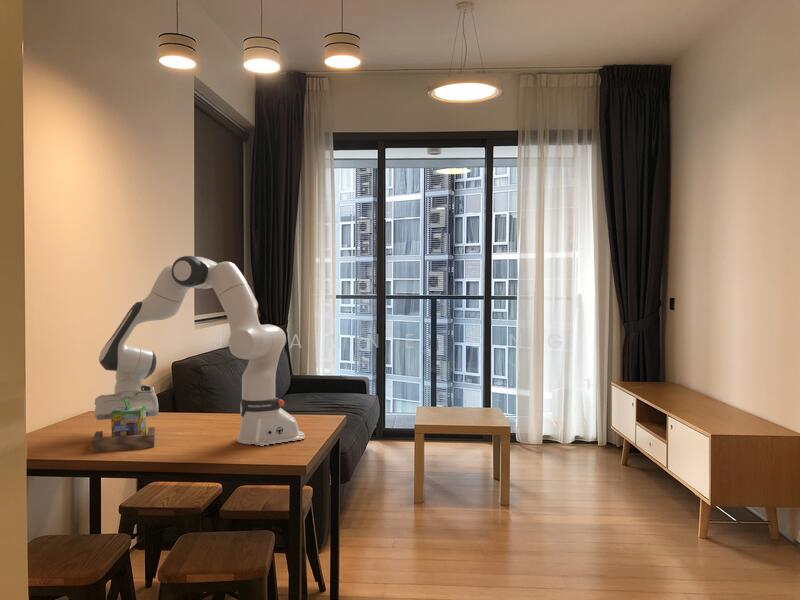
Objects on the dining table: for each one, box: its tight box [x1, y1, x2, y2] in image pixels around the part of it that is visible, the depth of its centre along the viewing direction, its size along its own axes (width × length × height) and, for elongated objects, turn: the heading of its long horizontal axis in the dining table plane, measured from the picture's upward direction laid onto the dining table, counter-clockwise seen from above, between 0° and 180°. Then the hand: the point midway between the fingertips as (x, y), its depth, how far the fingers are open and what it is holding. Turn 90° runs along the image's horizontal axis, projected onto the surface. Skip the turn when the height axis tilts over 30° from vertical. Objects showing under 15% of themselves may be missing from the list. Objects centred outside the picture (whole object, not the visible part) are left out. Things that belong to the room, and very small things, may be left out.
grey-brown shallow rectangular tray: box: [91, 426, 156, 453], centre depth 194 cm, size 18×12×4 cm, turn 111°
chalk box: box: [110, 398, 147, 437], centre depth 197 cm, size 9×9×15 cm
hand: (126, 427), depth 202 cm, fingers closed
